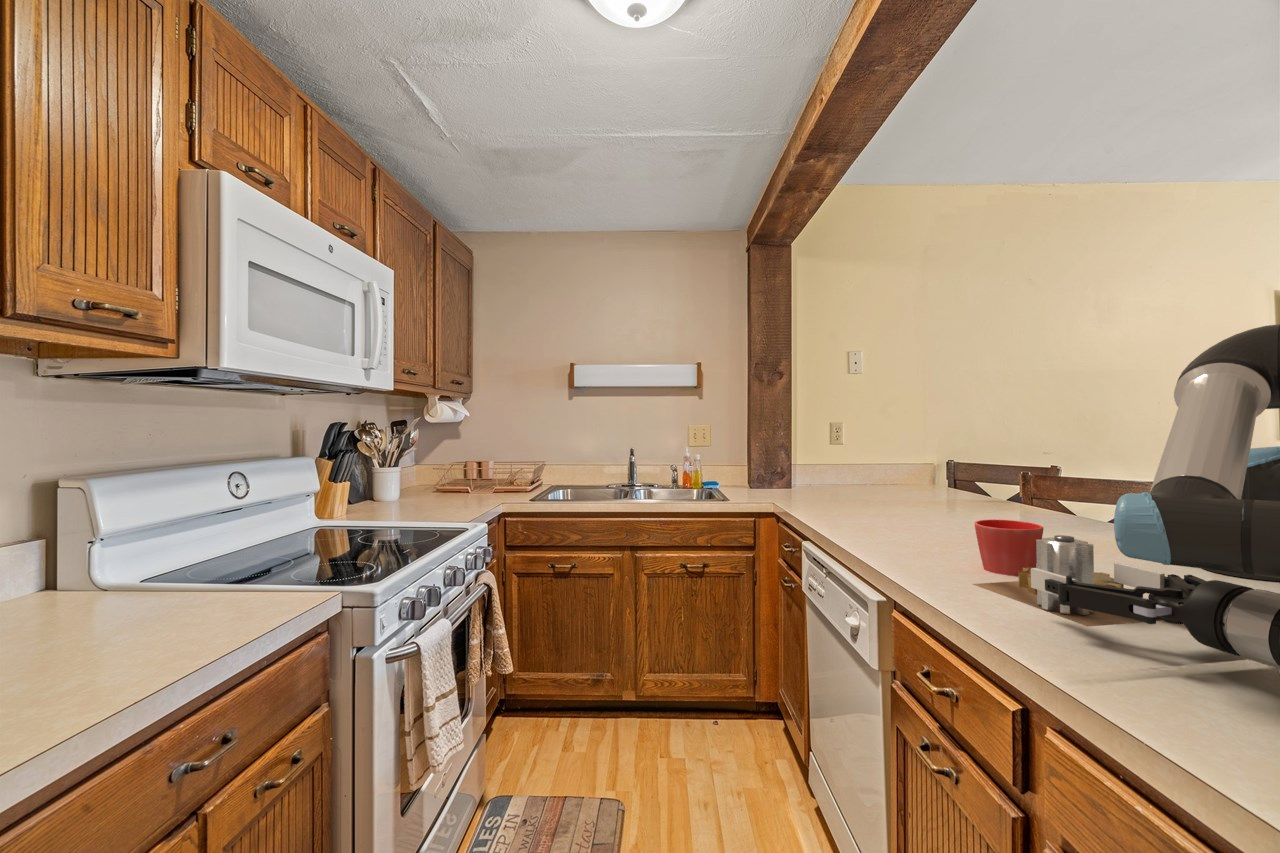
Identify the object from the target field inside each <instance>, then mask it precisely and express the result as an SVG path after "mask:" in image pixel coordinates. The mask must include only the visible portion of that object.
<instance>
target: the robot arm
mask: <svg viewBox="0 0 1280 853" xmlns="http://www.w3.org/2000/svg"><path fill="white" fill-rule="evenodd" d="M1176 381H1177V382H1176V383H1175V386H1174V391H1173V398H1174V402H1175V405H1176V406H1177V410H1176V414H1175V417H1174V419H1173V422H1172V425H1171V428H1170V432H1169V434H1168V437H1167V440H1166V443H1165V446H1164V449H1163V452H1162V455H1161V457H1160V461H1159V464H1158V466H1157V470H1156V473H1155V475H1154V479H1153V482H1152V484H1151V487H1150V490H1149V492H1148V491H1143V492H1140V493H1137V492H1136V493H1135V492H1134V493H1133V492H1132V493H1131V492H1129V493H1128V492H1127V493H1125V494H1123V495H1121V496H1120V497H1119V498H1118V499H1117V502H1116V505H1115V510H1114V517H1113V529H1114V530H1113V532H1114V539H1115V543H1116V547H1117V548H1118V550H1119V551H1120V553H1121V554H1122V555H1124V556H1125V557H1127V558H1130V559H1135V560H1136V559H1137V560H1140V561H1147V562H1152V563H1157V564H1158V563H1159V564H1162V565H1163V566H1178V567H1185V568H1193V569H1194V568H1195V569H1203V570H1206V571H1210V572H1213V573H1217V574H1221V575H1226V576H1231V577H1239V578H1246V579H1253V580H1263V581H1272V582H1280V446H1278V445H1277V446H1268V447H1267V446H1266V447H1253V448H1251V447H1252V441H1253V436H1254V431H1255V424H1256V419H1257V417H1259V416H1260V415H1261V414H1262V413H1263V412H1264V411H1265V410H1274V409H1275V410H1276V409H1280V324H1269V325H1263V326H1259V327H1255V328H1251V329H1247V330H1245V331H1241V332H1239V333H1235V334H1234V335H1232V336H1230V337H1227V338H1224V339H1223V340H1221V341H1219V342H1217V343H1215V344H1214V345H1212V346H1210V347H1209V348H1207V349H1205V350H1204V351H1203V352H1202V353H1200V354H1199V355H1198V356H1196V357H1195V358H1194V359H1193V360H1192V361H1191V362H1189V364H1188V365H1186V367H1185V368H1184V369H1183V370H1182V371H1181V373H1180V375H1179V377H1178V378H1177V380H1176ZM1165 575H1166V574H1165V573H1163V572H1158V571H1154V570H1150V569H1146V568H1142V567H1139V566H1138V567H1136V566H1133V565H1128V564H1125V563H1121V562H1113V577H1114V582H1116V583H1120V584H1124V586H1128V587H1131V588H1132V589H1131V588H1118V587H1110V586H1103V585H1095V584H1087V583H1079V582H1076V579H1072V576H1066V577H1065V576H1062V575H1058V574H1055V573H1051V572H1048V571H1044V570H1041V569H1037V567H1036V568H1031V588H1034V589H1037V590H1040V591H1044V592H1047V593H1050V594H1053V595H1056V596H1058V598H1059V604H1062V605H1067V606H1072V607H1077V608H1082V609H1087V610H1092V611H1097V612H1102V613H1107V614H1112V615H1117V616H1122V617H1127V618H1131V619H1135V620H1138V621H1142V622H1141V623H1146V624H1147V625H1156V624H1157V621H1156V619H1160V620H1164V622H1165V623H1168V624H1174V625H1183V626H1185V628H1186V630H1187V631H1188V632H1189V634H1190V635H1191V637H1193V639H1194V640H1196V641H1197V642H1198V643H1200V644H1201V645H1203V646H1206V647H1209V648H1212V649H1215V650H1218V651H1221V652H1223V653H1227V654H1231V655H1234V656H1239V657H1242V658H1245V659H1247V660H1250V661H1253V662H1256V663H1259V664H1263V665H1266V666H1268V667H1273V668H1274V669H1275V671H1276V673H1277V674H1279V675H1280V593H1278V592H1274V591H1270V590H1266V589H1260V588H1259V589H1258V588H1253V587H1250V586H1246V585H1241V584H1236V583H1232V582H1227V581H1223V580H1219V579H1218V580H1216V579H1214V580H1213V579H1212V580H1205V579H1202V578H1200V577H1197V575H1196V576H1195V575H1193V574H1185V575H1183V578H1182V577H1181V576H1179V575H1177V574H1173V573H1172V574H1167V575H1166V576H1165ZM1144 594H1148V598H1147V597H1144Z"/></svg>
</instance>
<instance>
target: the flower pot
mask: <svg viewBox="0 0 1280 853" xmlns="http://www.w3.org/2000/svg"><path fill="white" fill-rule="evenodd" d="M974 530H975V535H976V540H977V545H978V550H979V556H980V559H981V563H982V566H983V570H985V571H987V572H989V573H994V574H997V575H1003V576H1013V577H1015V576H1016V577H1018V571H1023V567H1033V568H1037V548H1036V540H1037V539H1038V540H1042V538H1043V534H1044V526H1043V525H1041V524H1038V523H1033V522H1029V521H1028V522H1027V521H1021V520H1013V519H979V520H976V521H975V522H974Z"/></svg>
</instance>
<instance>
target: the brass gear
mask: <svg viewBox="0 0 1280 853" xmlns="http://www.w3.org/2000/svg"><path fill="white" fill-rule="evenodd" d="M1031 568H1033V567H1023V571H1018V576H1017V577H1018V581H1019V587H1021V588H1028V592H1029V593H1032V594H1035V595H1037V589H1034V588H1031ZM1094 584H1095V585H1103V586H1110V587H1118V588H1124V587H1125V585H1124V584H1120V583H1116V582H1114V578H1113V577H1111V574H1109V573H1106V572H1095V571H1094Z"/></svg>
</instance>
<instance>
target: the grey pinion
mask: <svg viewBox="0 0 1280 853" xmlns="http://www.w3.org/2000/svg"><path fill="white" fill-rule="evenodd" d="M1036 548H1037V564H1036V568H1037V569H1041V570H1044V571H1048V572H1051V573H1055V574H1058V575H1062V576H1065V577H1066V576H1072V579H1076V582H1079V583H1087V584H1094V572H1095V570H1094V569H1095V565H1094V564H1095V562H1094V561H1095V560H1094V557H1095V555H1094V543H1089V542H1088V541H1085V540H1081V539H1076V538H1075V537H1074V536H1071V535H1061V534H1060V535H1059V534H1058V535H1057V534H1056V535H1054V537H1042V540H1038V539H1037V540H1036ZM1037 605H1042V608H1044V609H1046V610H1051V611H1055V612H1059V613H1065V614H1081V615H1088V614H1089V612H1094V611H1092V610H1087V609H1082V608H1077V607H1072V606H1067V605H1062V604H1059V598H1058V596H1056V595H1053V594H1050V593H1047V592H1044V591H1040V590H1037Z"/></svg>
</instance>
